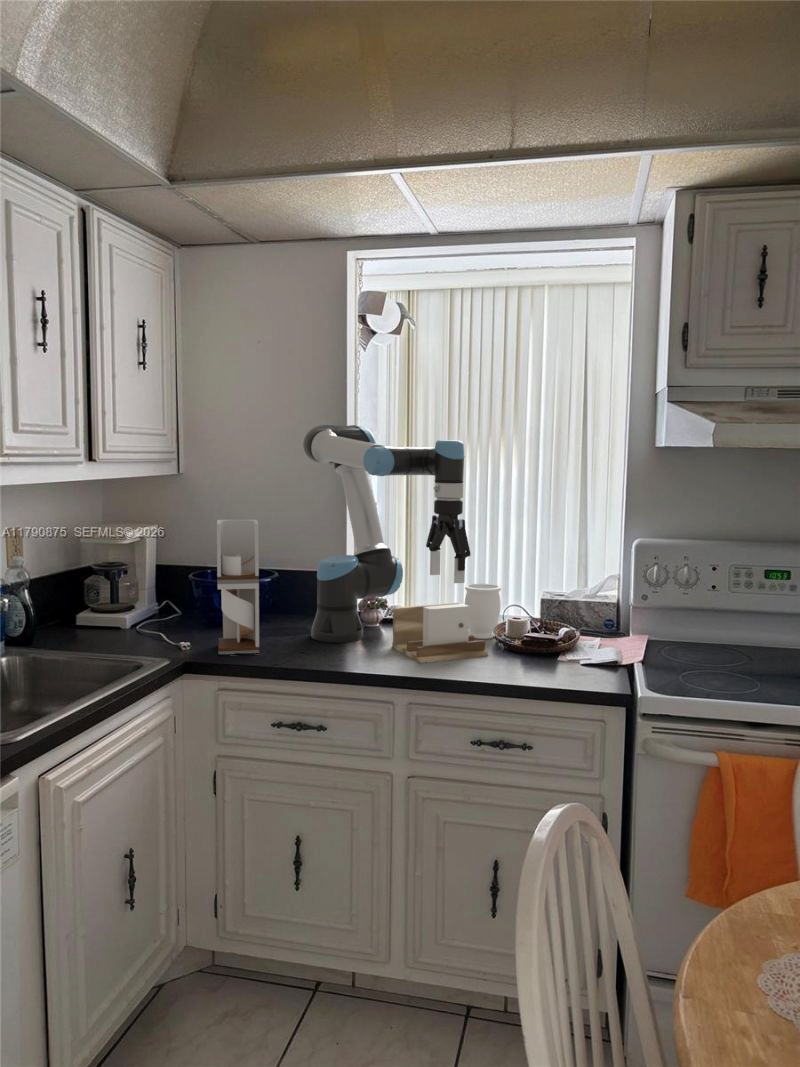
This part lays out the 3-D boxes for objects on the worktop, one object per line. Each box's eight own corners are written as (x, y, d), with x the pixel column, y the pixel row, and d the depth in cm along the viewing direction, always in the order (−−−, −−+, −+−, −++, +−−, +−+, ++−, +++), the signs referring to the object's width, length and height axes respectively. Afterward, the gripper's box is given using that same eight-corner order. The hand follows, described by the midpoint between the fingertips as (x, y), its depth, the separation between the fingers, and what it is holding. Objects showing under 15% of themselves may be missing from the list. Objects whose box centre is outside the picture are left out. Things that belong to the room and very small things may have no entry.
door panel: (422, 651, 213) (423, 606, 212) (461, 646, 218) (462, 603, 217) (429, 654, 210) (430, 609, 208) (469, 650, 215) (470, 606, 213)
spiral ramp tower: (218, 645, 221) (217, 519, 218) (257, 643, 223) (257, 519, 220) (218, 655, 210) (216, 523, 206) (259, 654, 212) (258, 523, 209)
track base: (392, 647, 222) (392, 607, 221) (455, 640, 230) (456, 602, 229) (420, 663, 206) (421, 620, 204) (487, 655, 214) (488, 614, 213)
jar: (490, 631, 243) (492, 582, 241) (505, 639, 233) (507, 588, 231) (458, 633, 239) (459, 584, 238) (472, 641, 230) (473, 590, 228)
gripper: (415, 496, 219) (413, 572, 222) (459, 502, 197) (457, 587, 199) (439, 495, 223) (437, 570, 225) (485, 502, 200) (483, 585, 202)
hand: (446, 578), depth 212 cm, fingers open, 13 cm apart
